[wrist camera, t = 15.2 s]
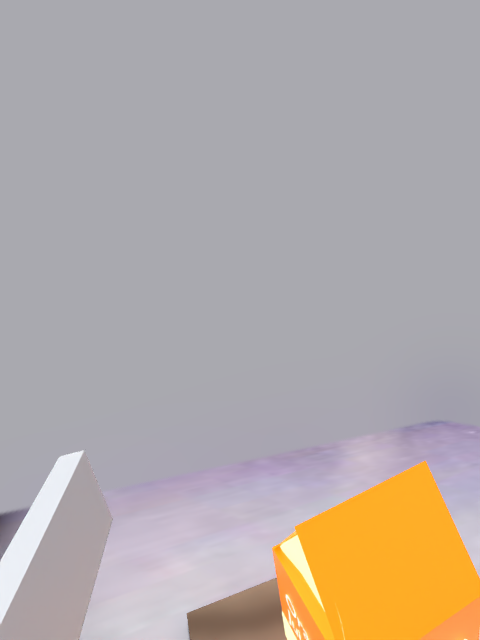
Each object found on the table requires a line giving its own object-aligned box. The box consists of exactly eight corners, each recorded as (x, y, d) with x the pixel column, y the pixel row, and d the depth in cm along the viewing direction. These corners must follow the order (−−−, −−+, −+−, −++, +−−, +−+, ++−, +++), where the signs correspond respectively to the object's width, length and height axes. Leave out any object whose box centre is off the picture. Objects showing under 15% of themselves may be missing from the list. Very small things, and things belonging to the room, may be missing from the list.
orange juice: (293, 685, 28) (258, 477, 21) (384, 625, 31) (378, 425, 24) (362, 840, 21) (344, 603, 14) (472, 744, 24) (497, 509, 17)
